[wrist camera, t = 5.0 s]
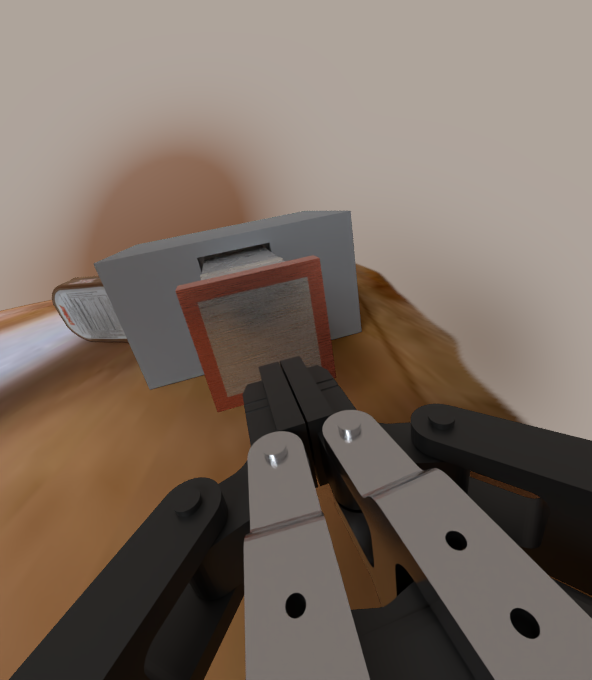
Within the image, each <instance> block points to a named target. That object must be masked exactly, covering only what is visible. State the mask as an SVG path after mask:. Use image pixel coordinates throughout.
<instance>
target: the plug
mask: <svg viewBox="0 0 592 680" xmlns="http://www.w3.org/2000/svg"><path fill="white" fill-rule="evenodd" d="M200 278H201V281H196V282H192V283H187V284H183V285H179V286H177V288H176V290H175V291H176V294H177V297H178V300H179V303H180V306H181V309H182V311H183V314H184V317H185V320H186V323H187V326H188V329H189V331H190V334H191V337H192V340H193V343H194V346H195V349H196V352H197V354H198V357H199V360H200V363H201V366H202V369H203V372H204V374H205V377H206V380H207V383H208V386H209V389H210V392H211V394H212V397H213V400H214V403H215V406H216V409H217V412H221V411H224V410H228V409H231V408H235V407H238V406H241V405H244V401H243V395H242V394H243V392H244V390H245V388H246V386H247V384H251V383H254V382H258V381H262V380H261V376H260V372H259V368H258V367H260V366H263V365H267V364H271V363H274V362H279V364H280V361H281V360H285V359H289V358H292V357H296V356H300V357H301V359H302V361H303V362H304V364H305V366H306V367H311V366H315V365H319V366H321V367H323V368H325V369H327V370H328V371H329V373H330V374H331V375H332V377H333V378H336V372H335V365H334V358H333V351H332V343H331V336H330V329H329V322H328V315H327V307H326V300H325V293H324V286H323V279H322V271H321V264H320V258H319V257H316V256H314V255H312V256H307V257H303V258H298V259H294V260H289V261H284V260H283V258H281V257H278V256H276V255H275V254H273V253H272V252H270V251H269V250H267V249H266V248H264V247H263V246H261V245H255V246H250V247H246V248H241V249H236V250H232V251H227V252H222V253H218V254H213V255H208V256H205V257H204V263H203V269H202V274H201V275H200Z"/></svg>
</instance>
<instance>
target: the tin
mask: <svg viewBox="0 0 592 680" xmlns="http://www.w3.org/2000/svg"><path fill="white" fill-rule="evenodd" d="M52 302H53V305H54V306H55V308H56V309H57V311H58V313H59V315H60V316H61V318H62V319H63V321H64V322H65V324H66V326H67V327H68V328H69V329H70V330H71V331H72V332H73V333H75V334H76V335H77V336H79V337H81V338H83V339H85V340H88V341H97V342H128V340H127V337H126V335H125V333H124V331H123V329H122V326H121V324H120V322H119V320H118V317H117V315H116V313H115V311H114V308H113V306H112V304H111V302H110V300H109V297H108V295H107V293H106V291H105V288H104V286H103V284H102V282H101V279H100V277H99V276H90V277H77V278H73V279H71V280H70V281H68V282H66V283H63V284H61V285H59V286H57V287H56V288H55V289H54V290H53V293H52Z"/></svg>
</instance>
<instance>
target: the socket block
mask: <svg viewBox="0 0 592 680" xmlns="http://www.w3.org/2000/svg"><path fill="white" fill-rule="evenodd" d="M255 245H261V246H263V247H264V248H266V249H267V250H269V251H270V252H272V253H273V254H275V255H276V256H278V257H281V258H283V260H284V261H289V260H294V259H298V258H303V257H307V256H312V255H314V256H316V257H319V258H320V264H321V271H322V279H323V286H324V293H325V300H326V307H327V315H328V322H329V329H330V336H331V340H333V339H337V338H340V337H344V336H348V335H351V334H355V333H359V332H362V331H361V321H360V310H359V299H358V288H357V277H356V266H355V255H354V244H353V233H352V222H351V211H302V212H297V213H292V214H287V215H282V216H277V217H272V218H268V219H262V220H258V221H253V222H248V223H243V224H238V225H233V226H228V227H223V228H218V229H213V230H208V231H203V232H198V233H193V234H188V235H183V236H178V237H173V238H169V239H163V240H158V241H154V242H149V243H143V244H138V245H135V246H133V247H130V248H128V249H126V250H124V251H121V252H119V253H117V254H114V255H112V256H110V257H108V258H106V259H103V260H101V261H99V262H97V263H94V266H95V268H96V271H97V272H98V275H99V277H100V279H101V282H102V284H103V286H104V288H105V291H106V293H107V295H108V297H109V300H110V302H111V304H112V306H113V308H114V311H115V313H116V315H117V317H118V320H119V322H120V324H121V326H122V329H123V331H124V333H125V335H126V337H127V340H128V342H129V344H130V346H131V349H132V351H133V353H134V355H135V358H136V360H137V362H138V364H139V366H140V369H141V371H142V373H143V375H144V378H145V380H146V382H147V384H148V387H149V389H154V388H157V387H161V386H165V385H168V384H172V383H176V382H179V381H183V380H187V379H190V378H194V377H198V376H201V375H205V374H204V372H203V369H202V366H201V363H200V360H199V357H198V354H197V352H196V349H195V346H194V343H193V340H192V337H191V334H190V331H189V329H188V326H187V323H186V320H185V317H184V314H183V311H182V309H181V306H180V303H179V300H178V297H177V294H176V291H175V290H176V288H177V286H179V285H183V284H187V283H192V282H196V281H201V278H200V275H201V274H202V269H203V263H204V257H205V256H208V255H213V254H218V253H222V252H227V251H232V250H236V249H241V248H246V247H250V246H255Z"/></svg>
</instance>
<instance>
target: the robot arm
mask: <svg viewBox="0 0 592 680" xmlns="http://www.w3.org/2000/svg"><path fill="white" fill-rule="evenodd" d="M258 368H259V372H260V376H261V380H262V381H258V382H254V383H251V384H247V386H246V388H245V390H244V392H243V394H242V395H243V401H244V407H245V413H246V419H247V425H248V431H249V438H250V444H251V448H250V450H249V453H248V460H247V461H246V463H245V464H244V465H243V467H242V468H241V469H240V470H239V471H237V472H236V473H235V474H233V475H232V476H231V477H229V478H227V479H226V480H224V481H222V482H221V483H219V484H217V482H215V481H214V480H212V479H210V478H201V477H200V478H194V479H191V480H188V481H186V482H184V483H182V484H180V485H178V486H177V487H175V488H174V489H173V490H172V491H171V492H169V494H168V495H167V496H166V497H165V498H164V499H163V500H162V501H161V503H160V504H159V505H158V506H157V507H156V508H155V510H154V511H153V512H152V513H151V514H150V515H149V517H148V518H147V519H146V520H145V521H144V522H143V524H142V525H141V526H140V527H139V528H138V529H137V531H136V532H135V533H134V534H133V535H132V536H131V538H130V539H129V540H128V541H127V542H126V543H125V545H124V546H123V547H122V548H121V549H120V550H119V552H118V553H117V554H116V555H115V556H114V557H113V559H112V560H111V561H110V562H109V563H108V564H107V566H106V567H105V568H104V569H103V570H102V571H101V573H100V574H99V575H98V576H97V577H96V578H95V580H94V581H93V582H92V583H91V584H90V585H89V587H88V588H87V589H86V590H85V591H84V592H83V594H82V595H81V596H80V597H79V598H78V599H77V601H76V602H75V603H74V604H73V605H72V606H71V608H70V609H69V610H68V611H67V612H66V613H65V615H64V616H63V617H62V618H61V619H60V620H59V622H58V623H57V624H56V625H55V626H54V627H53V629H52V630H51V631H50V632H49V633H48V634H47V636H46V637H45V638H44V639H43V640H42V641H41V643H40V644H39V645H38V646H37V647H36V648H35V650H34V651H33V652H32V653H31V654H30V655H29V657H28V658H27V659H26V660H25V661H24V662H23V664H22V665H21V666H20V667H19V668H18V669H17V671H16V672H15V673H14V674H13V675H12V676H11V678H10V679H9V680H204V678H205V676H206V674H207V672H208V670H209V667H210V665H211V663H212V661H213V659H214V657H215V655H216V653H217V651H218V649H219V646H220V644H221V642H222V640H223V638H224V636H225V634H226V632H227V630H228V628H229V626H230V623H231V621H232V619H233V617H234V615H235V613H236V611H237V609H238V607H239V605H240V602H241V600H242V598H243V596H244V597H245V653H246V680H592V598H591V597H589V596H587V595H585V594H583V593H581V592H579V591H577V590H575V589H573V588H571V587H569V586H567V585H565V584H563V583H561V582H559V581H557V580H554V579H551V578H550V577H549V576H552V577H554V578H556V579H558V580H560V581H562V582H564V583H566V584H569V585H571V586H573V587H575V588H577V589H579V590H581V591H583V592H585V593H588V594H590V595H592V441H590V440H586V439H582V438H578V437H574V436H570V435H566V434H562V433H558V432H554V431H550V430H546V429H542V428H538V427H534V426H530V425H526V424H522V423H518V422H514V421H510V420H506V419H502V418H498V417H494V416H490V415H486V414H482V413H478V412H474V411H470V410H466V409H462V408H458V407H454V406H450V405H445V404H428V405H424V406H421V407H419V408H418V409H416V410H415V411H414V412H413V413H412V416H411V423H395V424H383V423H377V422H376V420H375V419H374V418H373V417H371V416H370V415H369V414H367V413H365V412H362V411H357V410H356V408H355V407H354V406H353V404H352V403H351V402H350V400H349V399H348V397H347V396H346V395H345V393H344V392H343V390H342V389H341V388H340V386H338V384H337V382H336V381H335V380H334V378H333V377H332V375H331V374H330V373H329V371H328V370H327V369H325V368H323V367H321V366H319V365H315V366H311V367H306V366H305V364H304V362H303V361H302V359H301V357H300V356H296V357H292V358H289V359H285V360H281V361H280V364H279V362H274V363H271V364H267V365H263V366H260V367H258ZM470 471H473V472H475V473H478V474H481V475H484V476H487V477H490V478H492V479H495V480H498V481H501V482H504V483H507V484H509V485H512V486H515V487H518V488H521V489H523V490H526V491H529V492H532V493H534V494H536V495H538V496H539V497H541V498H537V499H532V498H527V497H524V496H521V495H518V494H515V493H513V492H510V491H507V490H504V489H502V488H499V487H496V486H493V485H491V484H488V483H485V482H483V481H480V480H477V479H474V478H472V477H470ZM316 477H317V479H318V482H319V484H320V486H322V485H325V484H328V483H329V485H330V487H331V489H332V492H333V495H334V500H335V506H336V509H337V511H338V513H339V515H340V517H341V519H342V521H343V523H344V525H345V527H346V529H347V531H348V533H349V535H350V537H351V539H352V541H353V542H354V544H355V546H356V548H357V550H358V552H359V554H360V556H361V558H362V560H363V562H364V564H365V566H366V568H367V570H368V572H369V574H370V576H371V578H372V580H373V583H374V586H375V588H376V592H377V595H378V598H379V601H380V603H381V606H382V607H380V608H370V609H357V610H350V606H349V602H348V599H347V595H346V592H345V588H344V585H343V581H342V577H341V574H340V570H339V567H338V563H337V559H336V556H335V552H334V549H333V545H332V542H331V538H330V534H329V531H328V527H327V524H326V520H325V517H324V514H323V512H322V511H321V508H320V504H319V500H318V497H317V493H316V489H315V488H317V487H318V484H317V479H316ZM548 575H549V576H548Z"/></svg>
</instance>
